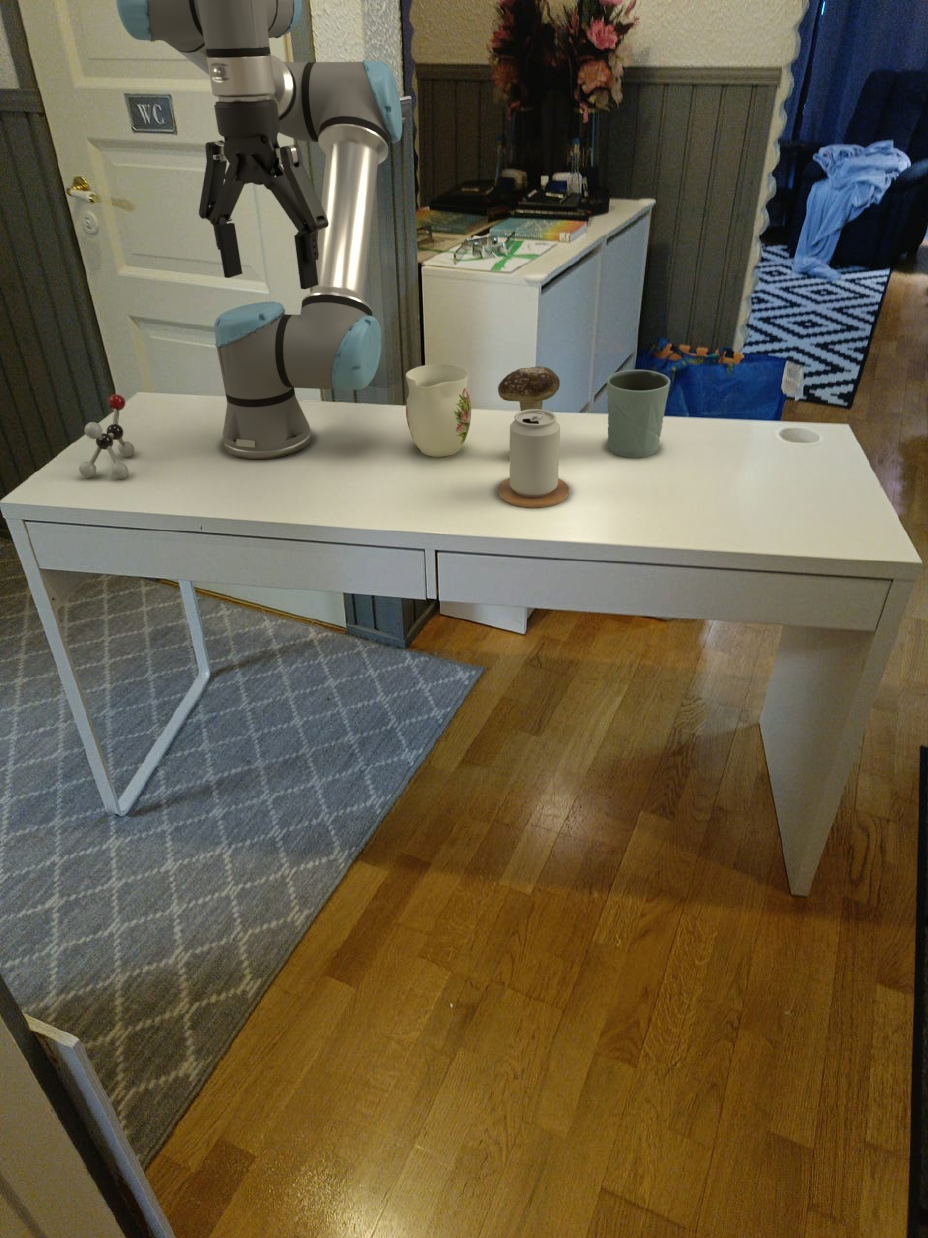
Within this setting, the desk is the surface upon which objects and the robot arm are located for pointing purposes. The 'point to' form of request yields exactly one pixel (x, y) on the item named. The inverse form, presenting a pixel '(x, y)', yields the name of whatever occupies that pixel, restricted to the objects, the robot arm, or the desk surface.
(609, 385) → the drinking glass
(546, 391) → the mushroom
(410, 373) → the pitcher
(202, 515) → the desk surface
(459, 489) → the desk surface
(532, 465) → the can
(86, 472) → the molecular model
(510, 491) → the coaster
